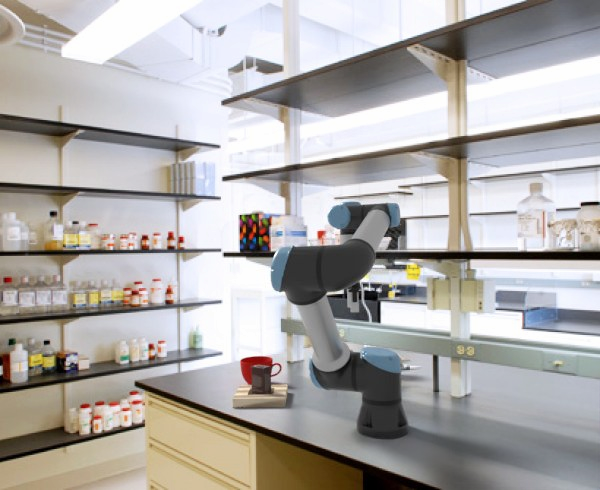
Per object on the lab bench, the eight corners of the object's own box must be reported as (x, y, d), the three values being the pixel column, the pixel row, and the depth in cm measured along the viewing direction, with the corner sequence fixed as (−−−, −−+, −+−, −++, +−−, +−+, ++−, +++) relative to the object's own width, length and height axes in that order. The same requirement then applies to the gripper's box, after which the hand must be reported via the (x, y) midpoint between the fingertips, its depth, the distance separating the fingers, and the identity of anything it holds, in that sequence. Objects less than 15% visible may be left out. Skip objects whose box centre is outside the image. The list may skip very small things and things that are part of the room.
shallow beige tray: (285, 406, 168) (284, 398, 169) (232, 407, 169) (232, 398, 169) (287, 392, 186) (287, 384, 186) (240, 393, 186) (239, 385, 186)
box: (272, 399, 178) (271, 365, 178) (264, 402, 174) (263, 368, 174) (259, 396, 181) (258, 363, 181) (251, 400, 177) (250, 366, 177)
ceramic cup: (276, 390, 189) (276, 364, 189) (235, 388, 193) (235, 362, 193) (286, 381, 201) (286, 356, 201) (247, 379, 206) (247, 355, 206)
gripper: (366, 246, 155) (368, 314, 155) (359, 247, 180) (360, 305, 180) (342, 247, 156) (344, 314, 155) (338, 247, 181) (339, 305, 180)
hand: (353, 309), depth 168 cm, fingers open, 13 cm apart
